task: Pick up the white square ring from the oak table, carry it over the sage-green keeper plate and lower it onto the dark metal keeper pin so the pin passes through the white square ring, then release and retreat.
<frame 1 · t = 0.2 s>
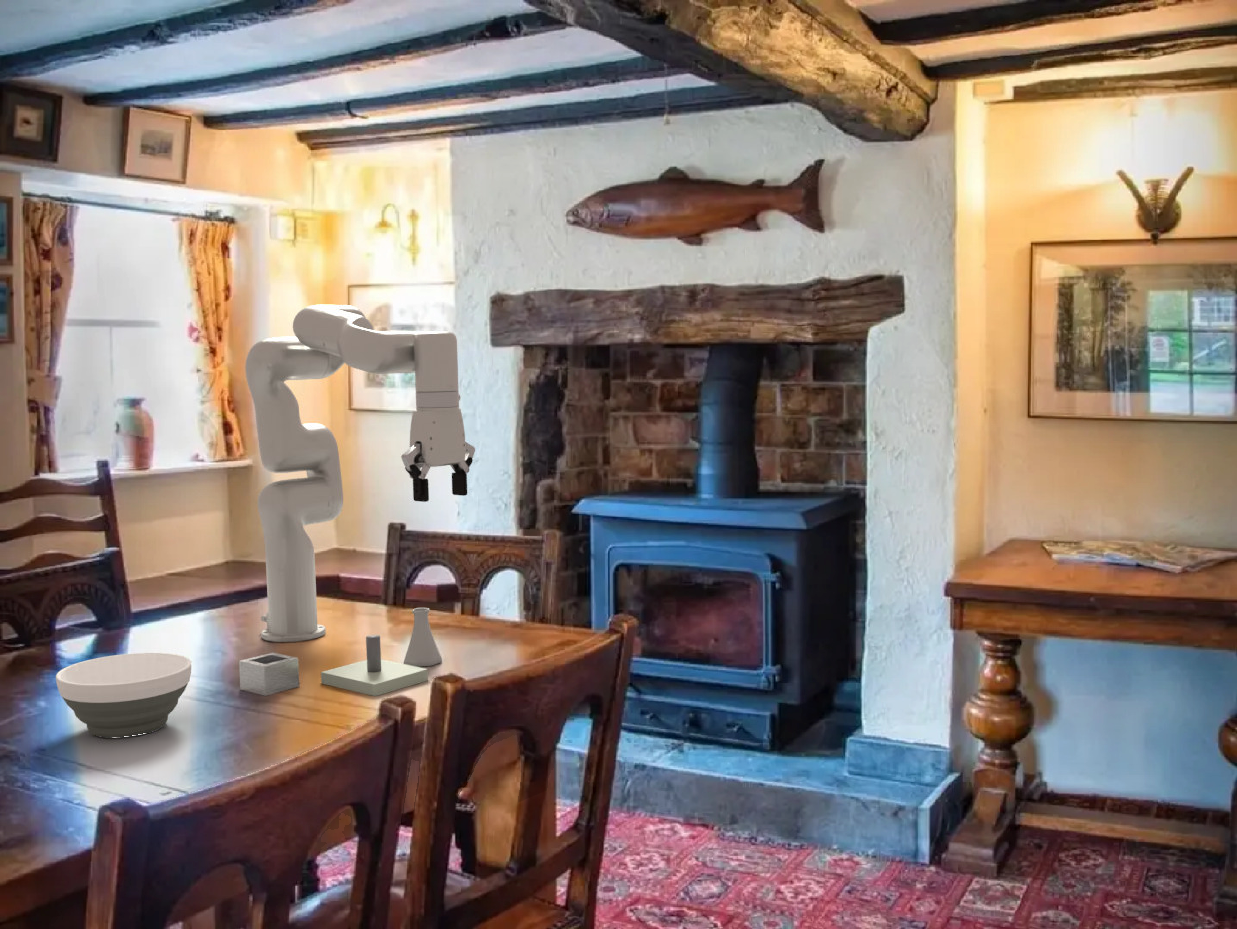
hand: (440, 498, 227), 31 cm above the table, fingers open, 9 cm apart
bowl: (128, 729, 198), on the table
flask: (422, 663, 235), on the table
white square ring: (270, 687, 220), on the table
keeper: (374, 681, 222), on the table
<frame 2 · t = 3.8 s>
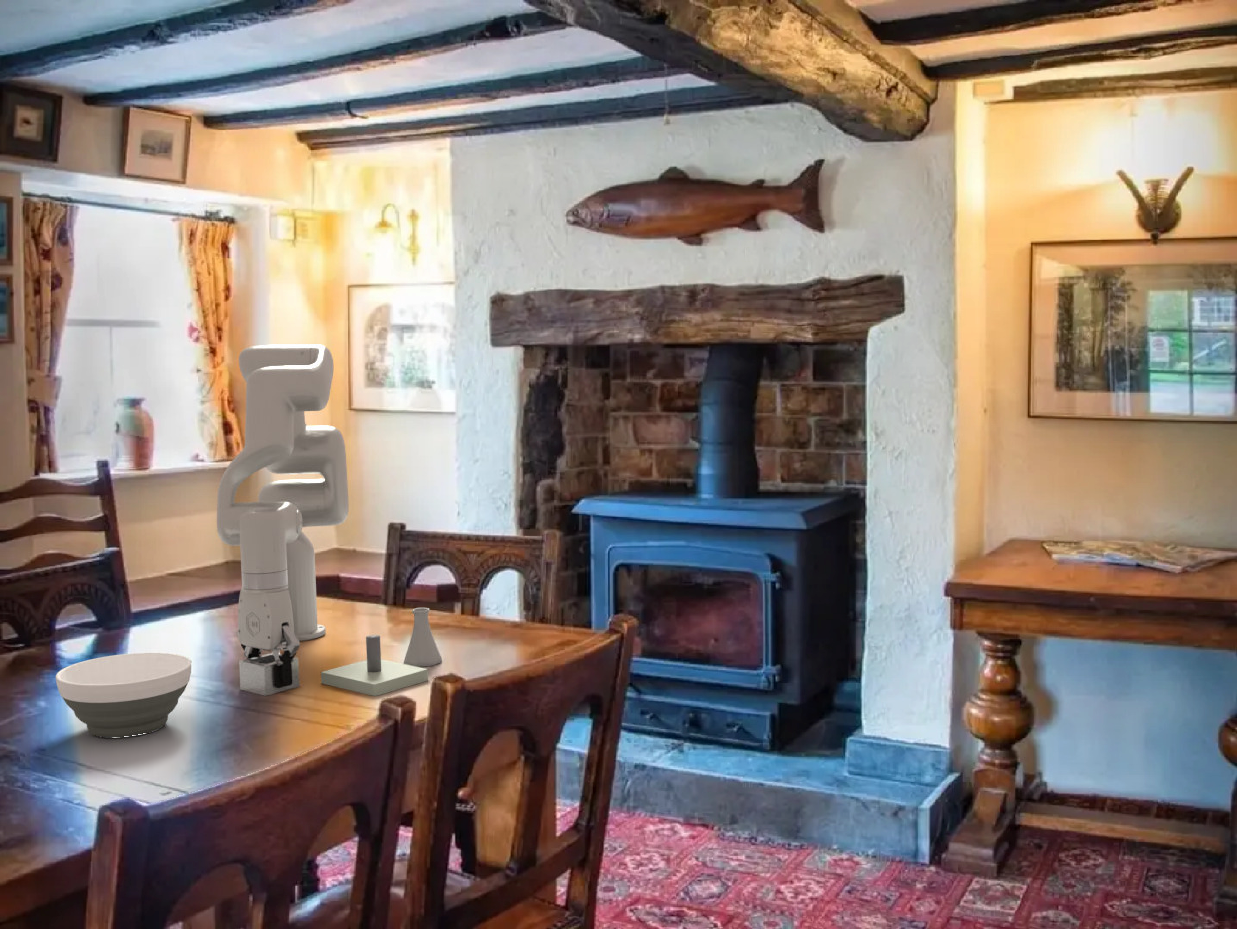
hand: (269, 682, 219), 1 cm above the table, fingers closed on white square ring, 7 cm apart
white square ring: (270, 687, 220), on the table, touching gripper
everything else where it was.
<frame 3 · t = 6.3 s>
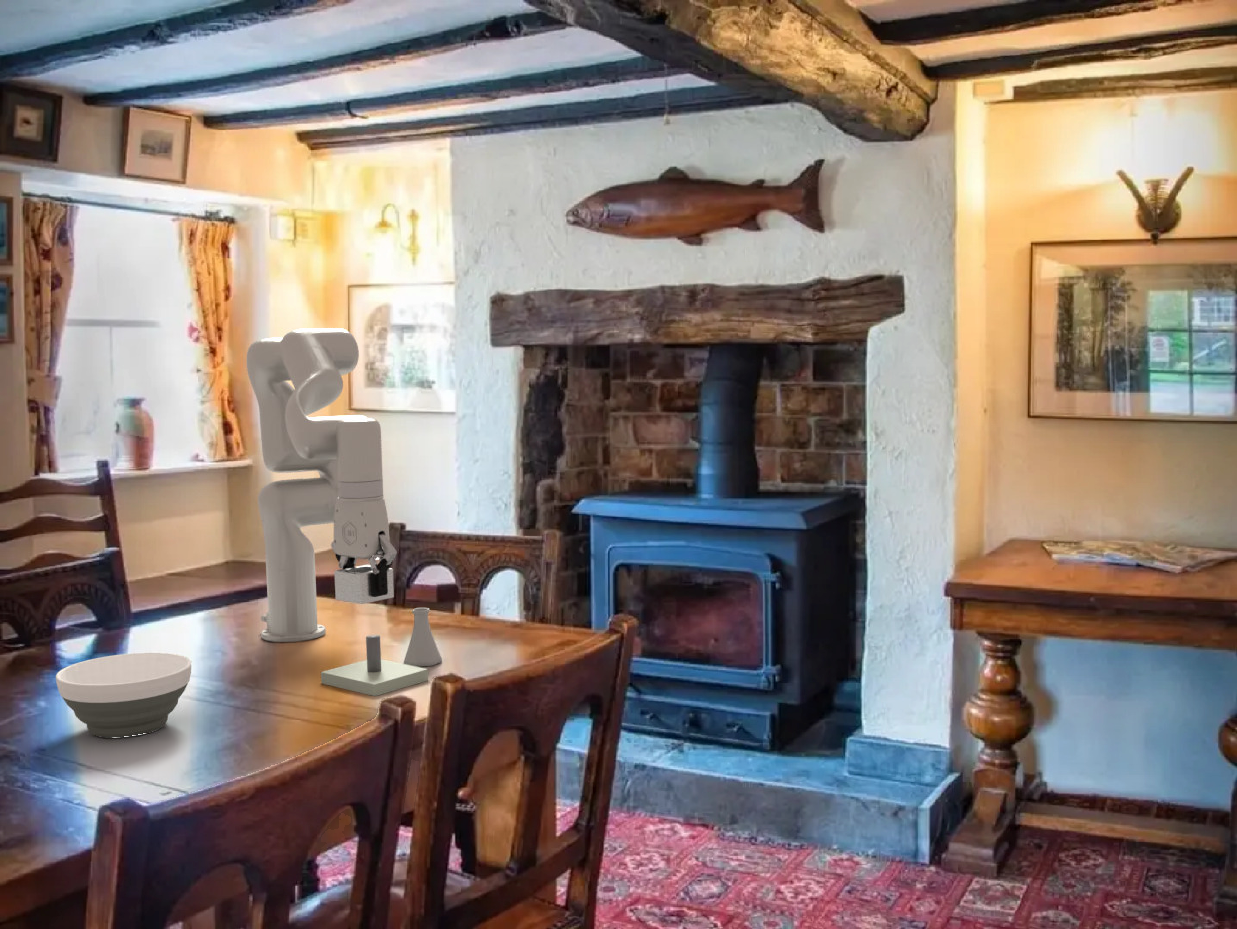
hand: (364, 592, 220), 16 cm above the table, fingers closed on white square ring, 7 cm apart
white square ring: (364, 598, 221), point 15 cm above the table, touching gripper
everything else where it was.
when the fingers open (5 cm above the table, at t = 8.9 s): white square ring drops 2 cm, resting on keeper.
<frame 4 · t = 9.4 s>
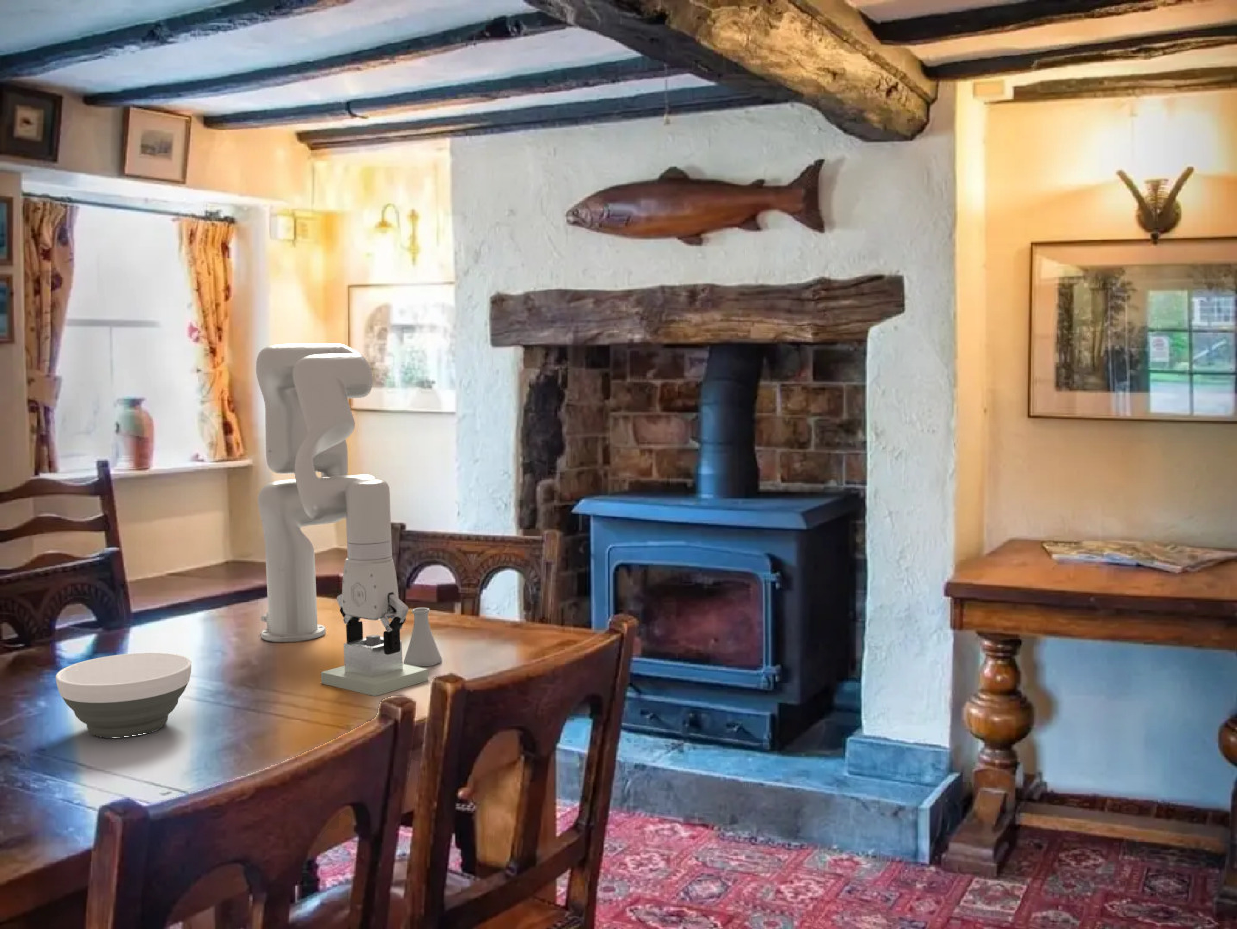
hand: (373, 649, 222), 6 cm above the table, fingers open, 9 cm apart
white square ring: (373, 670, 222), point 2 cm above the table, touching keeper
everything else where it was.
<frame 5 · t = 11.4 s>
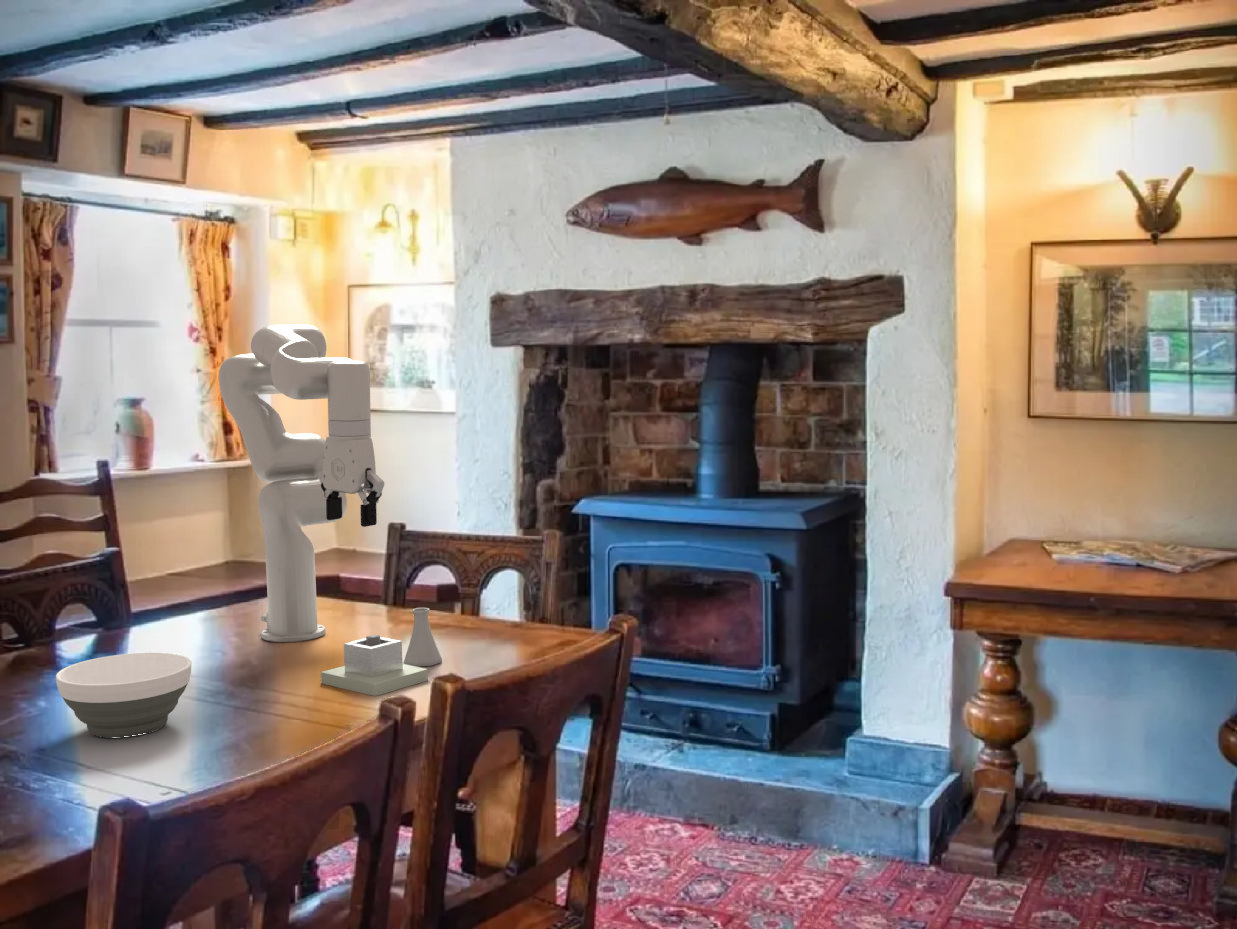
hand: (351, 522, 234), 26 cm above the table, fingers open, 9 cm apart
nothing on the table moved.
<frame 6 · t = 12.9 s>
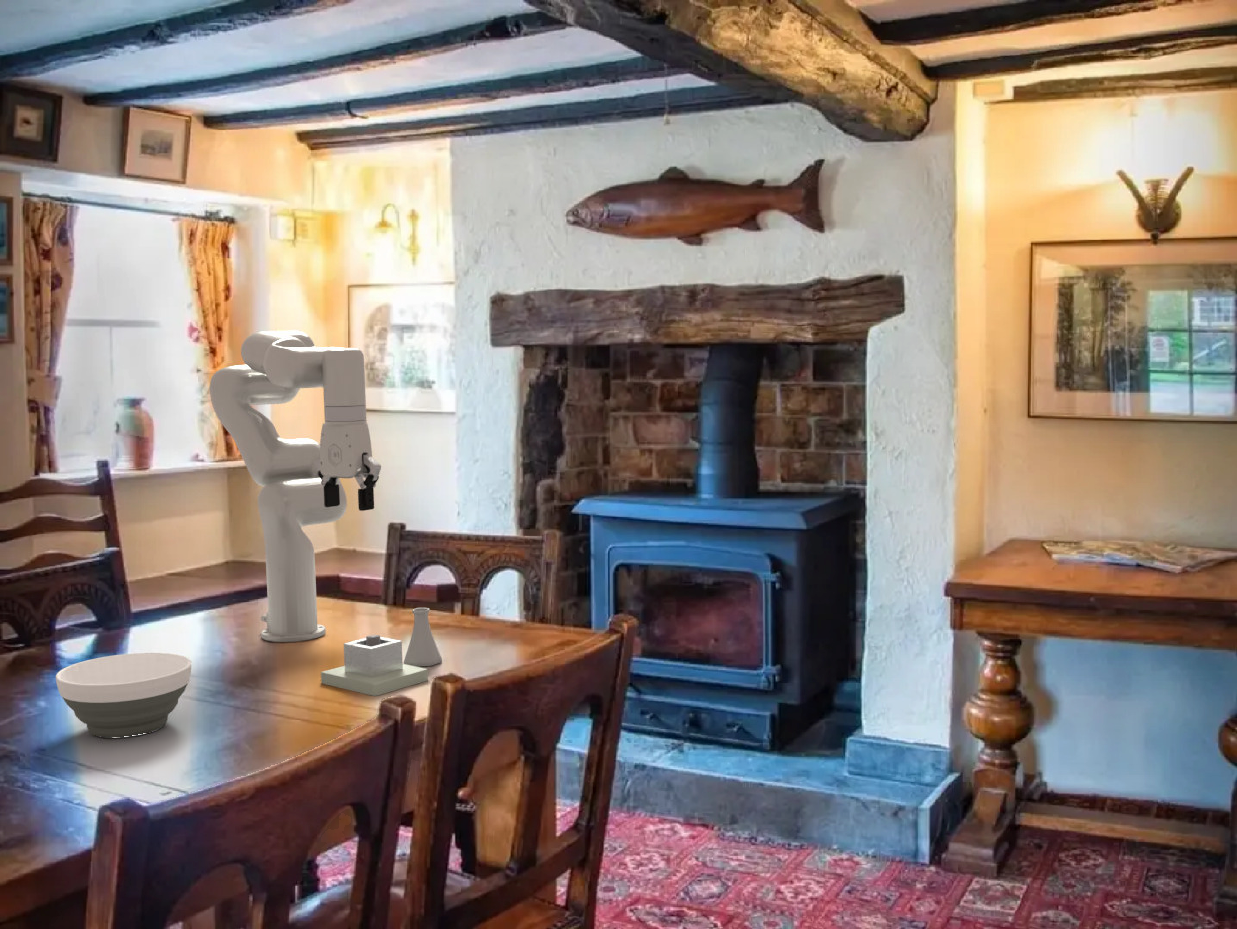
hand: (349, 508, 236), 28 cm above the table, fingers open, 9 cm apart
nothing on the table moved.
at the end: white square ring 0.1 cm off-centre on the keeper, point 2.0 cm above the keeper's base; the gripper is holding nothing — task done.
